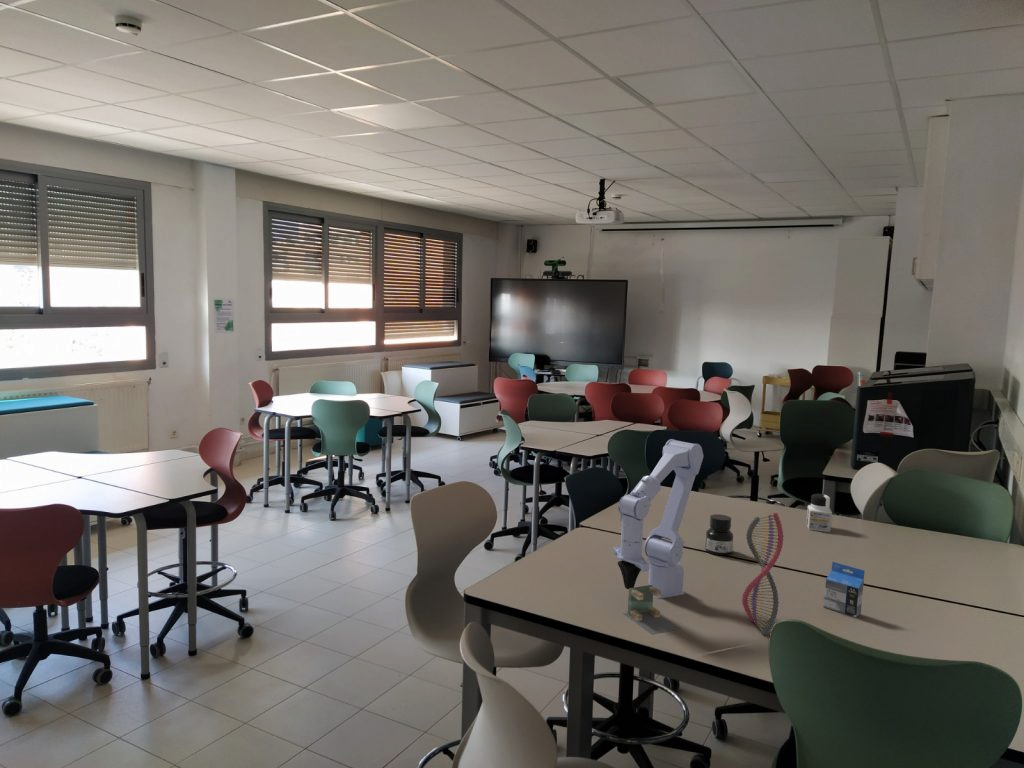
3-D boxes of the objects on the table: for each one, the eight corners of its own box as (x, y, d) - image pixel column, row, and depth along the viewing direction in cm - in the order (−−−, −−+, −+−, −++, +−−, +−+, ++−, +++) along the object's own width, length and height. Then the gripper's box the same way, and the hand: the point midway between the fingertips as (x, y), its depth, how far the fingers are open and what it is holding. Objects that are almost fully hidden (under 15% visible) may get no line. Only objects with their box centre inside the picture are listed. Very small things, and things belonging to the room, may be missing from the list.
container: (808, 530, 267) (811, 496, 265) (806, 524, 274) (808, 491, 273) (830, 532, 264) (833, 498, 263) (827, 526, 272) (830, 493, 270)
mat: (651, 609, 191) (651, 608, 191) (681, 629, 179) (681, 628, 179) (623, 614, 187) (623, 613, 187) (651, 635, 176) (651, 634, 176)
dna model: (768, 620, 186) (776, 509, 183) (782, 636, 177) (791, 520, 174) (735, 620, 186) (742, 509, 183) (747, 635, 177) (755, 519, 174)
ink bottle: (704, 554, 236) (706, 519, 235) (703, 545, 245) (705, 512, 243) (734, 557, 234) (736, 522, 233) (732, 549, 242) (734, 515, 241)
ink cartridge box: (822, 607, 196) (826, 564, 195) (828, 603, 199) (831, 561, 197) (856, 618, 190) (860, 573, 188) (861, 614, 192) (865, 570, 191)
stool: (627, 613, 187) (628, 588, 186) (649, 609, 190) (651, 584, 189) (637, 621, 183) (639, 595, 182) (659, 616, 186) (661, 591, 185)
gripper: (604, 533, 196) (602, 580, 197) (634, 549, 183) (631, 600, 184) (626, 530, 199) (623, 576, 200) (657, 546, 186) (654, 596, 187)
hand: (629, 587), depth 192 cm, fingers closed
